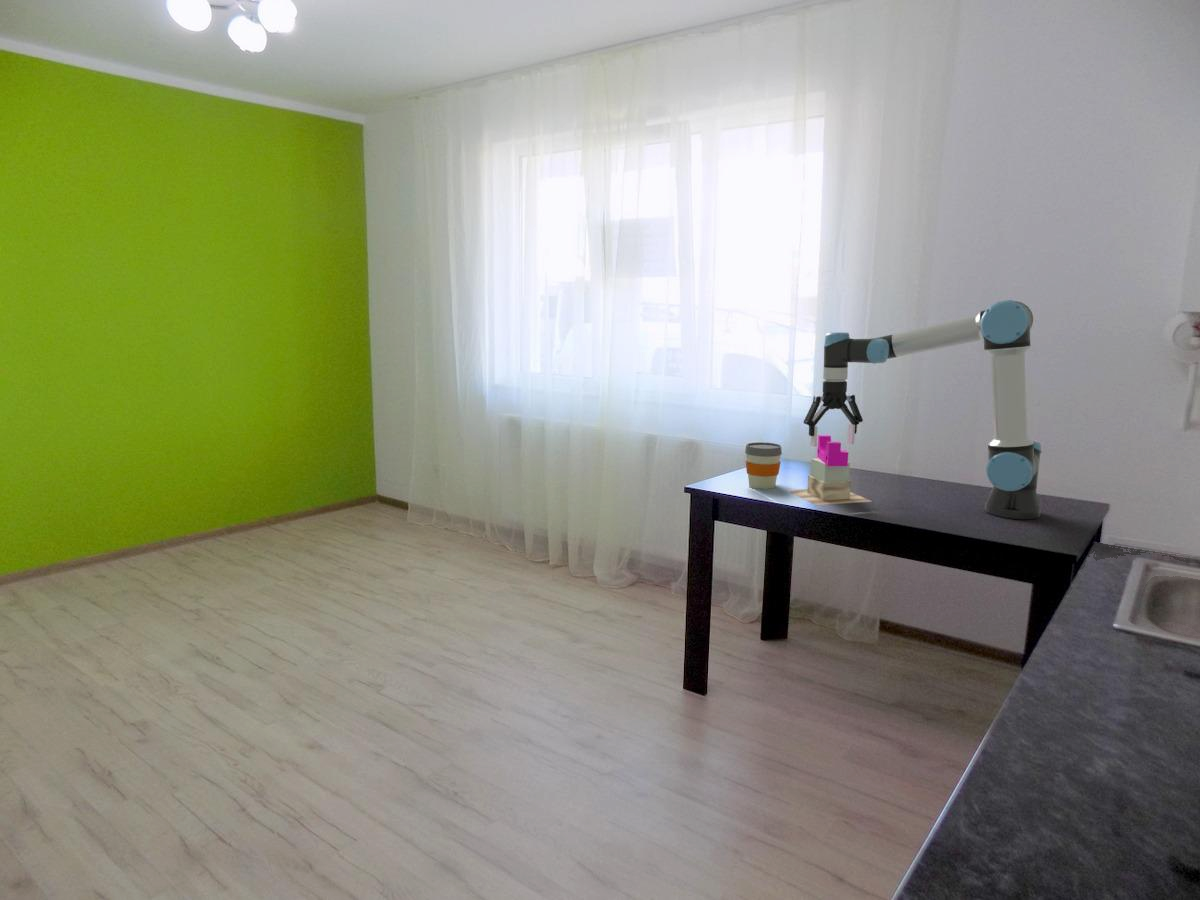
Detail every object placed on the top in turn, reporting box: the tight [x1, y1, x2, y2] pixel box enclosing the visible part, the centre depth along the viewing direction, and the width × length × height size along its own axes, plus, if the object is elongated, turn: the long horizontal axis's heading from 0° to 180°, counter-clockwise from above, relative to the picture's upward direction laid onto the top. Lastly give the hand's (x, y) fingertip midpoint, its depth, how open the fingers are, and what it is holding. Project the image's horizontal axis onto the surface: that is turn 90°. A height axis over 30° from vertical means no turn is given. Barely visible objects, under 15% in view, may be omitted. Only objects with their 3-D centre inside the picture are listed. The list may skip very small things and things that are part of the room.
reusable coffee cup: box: [744, 441, 783, 490], centre depth 265 cm, size 13×13×15 cm
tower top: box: [809, 457, 851, 482], centre depth 250 cm, size 9×9×6 cm
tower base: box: [807, 475, 852, 500], centre depth 251 cm, size 10×10×6 cm
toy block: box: [816, 434, 849, 466], centre depth 247 cm, size 15×6×8 cm, turn 177°
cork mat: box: [786, 488, 872, 506], centre depth 252 cm, size 20×20×1 cm
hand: (832, 444), depth 248 cm, fingers open, 13 cm apart
